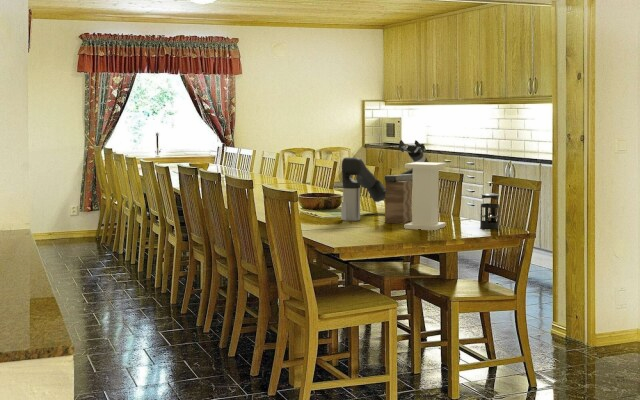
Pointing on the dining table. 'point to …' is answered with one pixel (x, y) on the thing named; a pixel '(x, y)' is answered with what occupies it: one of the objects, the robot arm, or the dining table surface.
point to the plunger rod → (398, 177)
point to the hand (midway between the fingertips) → (408, 141)
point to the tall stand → (425, 196)
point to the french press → (493, 223)
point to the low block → (398, 201)
